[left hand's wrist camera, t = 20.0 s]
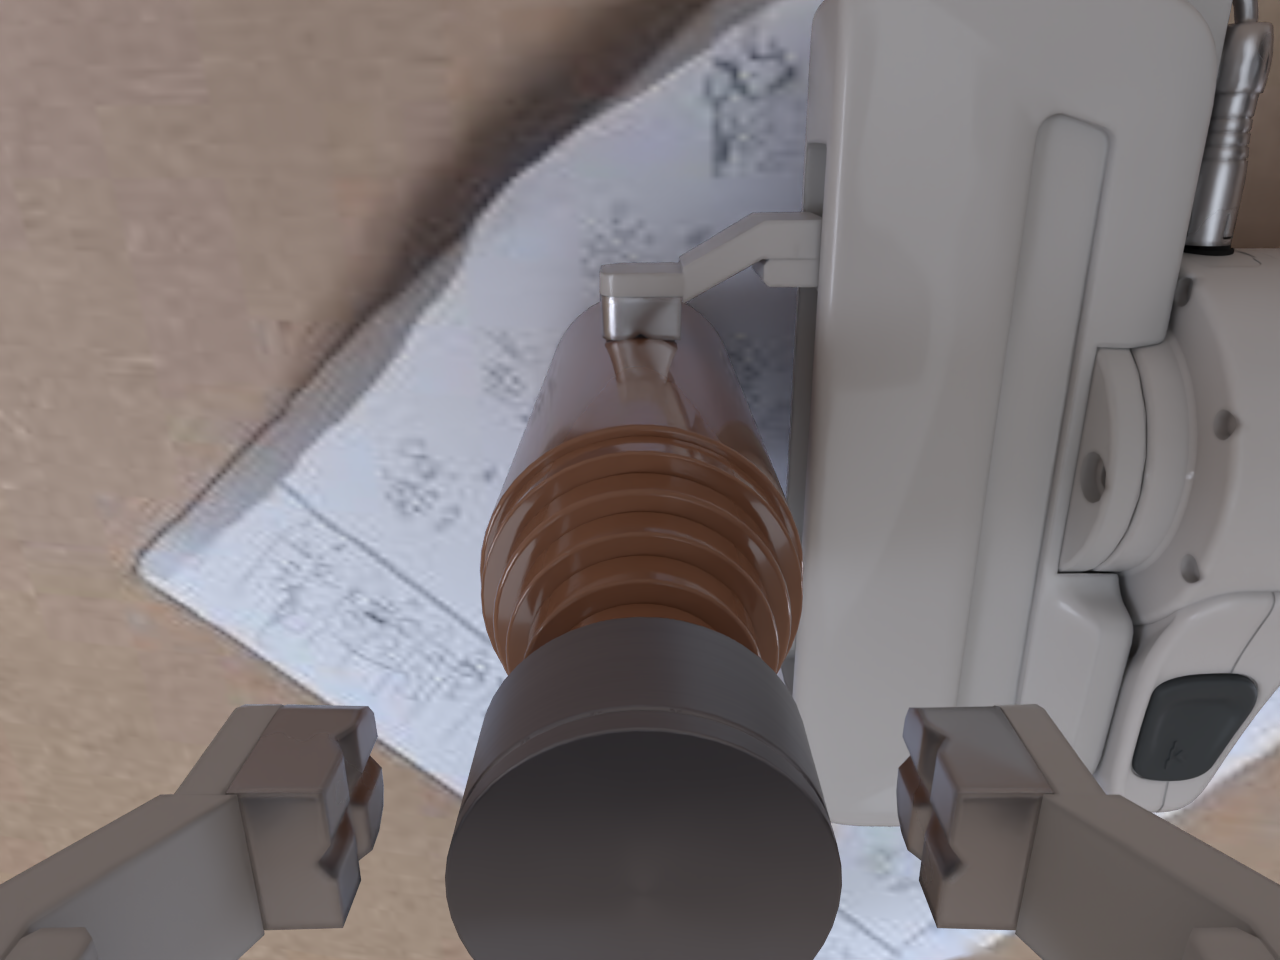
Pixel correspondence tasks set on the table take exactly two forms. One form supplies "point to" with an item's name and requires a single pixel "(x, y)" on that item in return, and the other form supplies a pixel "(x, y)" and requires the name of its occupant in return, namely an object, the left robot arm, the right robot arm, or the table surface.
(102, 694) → the table surface
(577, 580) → the bottle
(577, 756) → the cap
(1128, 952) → the left robot arm
